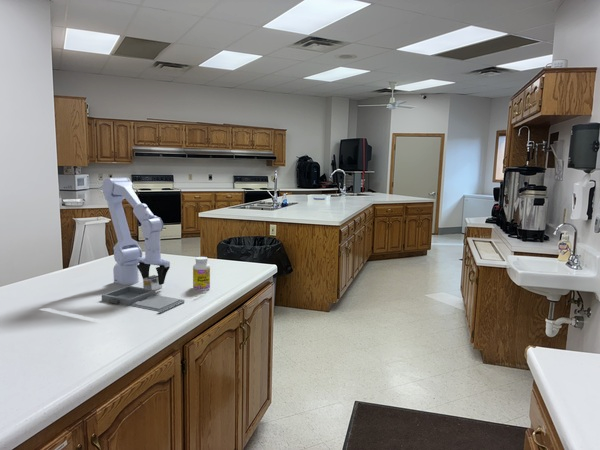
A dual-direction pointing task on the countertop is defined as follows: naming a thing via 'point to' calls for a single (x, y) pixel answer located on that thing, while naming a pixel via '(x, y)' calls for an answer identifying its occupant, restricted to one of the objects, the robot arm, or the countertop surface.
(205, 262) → the supplement bottle
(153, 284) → the block
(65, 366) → the countertop surface
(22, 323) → the countertop surface
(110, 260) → the countertop surface
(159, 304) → the case
